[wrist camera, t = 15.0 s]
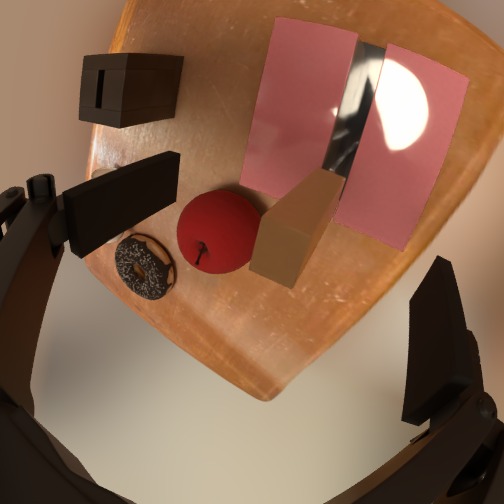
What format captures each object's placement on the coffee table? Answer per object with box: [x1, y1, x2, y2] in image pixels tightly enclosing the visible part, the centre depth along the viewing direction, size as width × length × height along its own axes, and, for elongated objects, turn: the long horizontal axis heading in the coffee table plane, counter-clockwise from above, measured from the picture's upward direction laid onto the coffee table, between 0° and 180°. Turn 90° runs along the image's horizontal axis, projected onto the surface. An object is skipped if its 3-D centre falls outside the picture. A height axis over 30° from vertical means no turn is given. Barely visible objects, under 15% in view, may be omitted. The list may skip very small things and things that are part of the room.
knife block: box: [79, 53, 184, 129], centre depth 28 cm, size 8×8×9 cm
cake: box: [239, 17, 470, 252], centre depth 21 cm, size 16×16×9 cm
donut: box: [115, 234, 174, 300], centre depth 45 cm, size 11×12×4 cm
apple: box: [177, 190, 261, 274], centre depth 32 cm, size 9×9×10 cm
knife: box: [249, 148, 352, 289], centre depth 19 cm, size 3×2×19 cm, turn 167°
